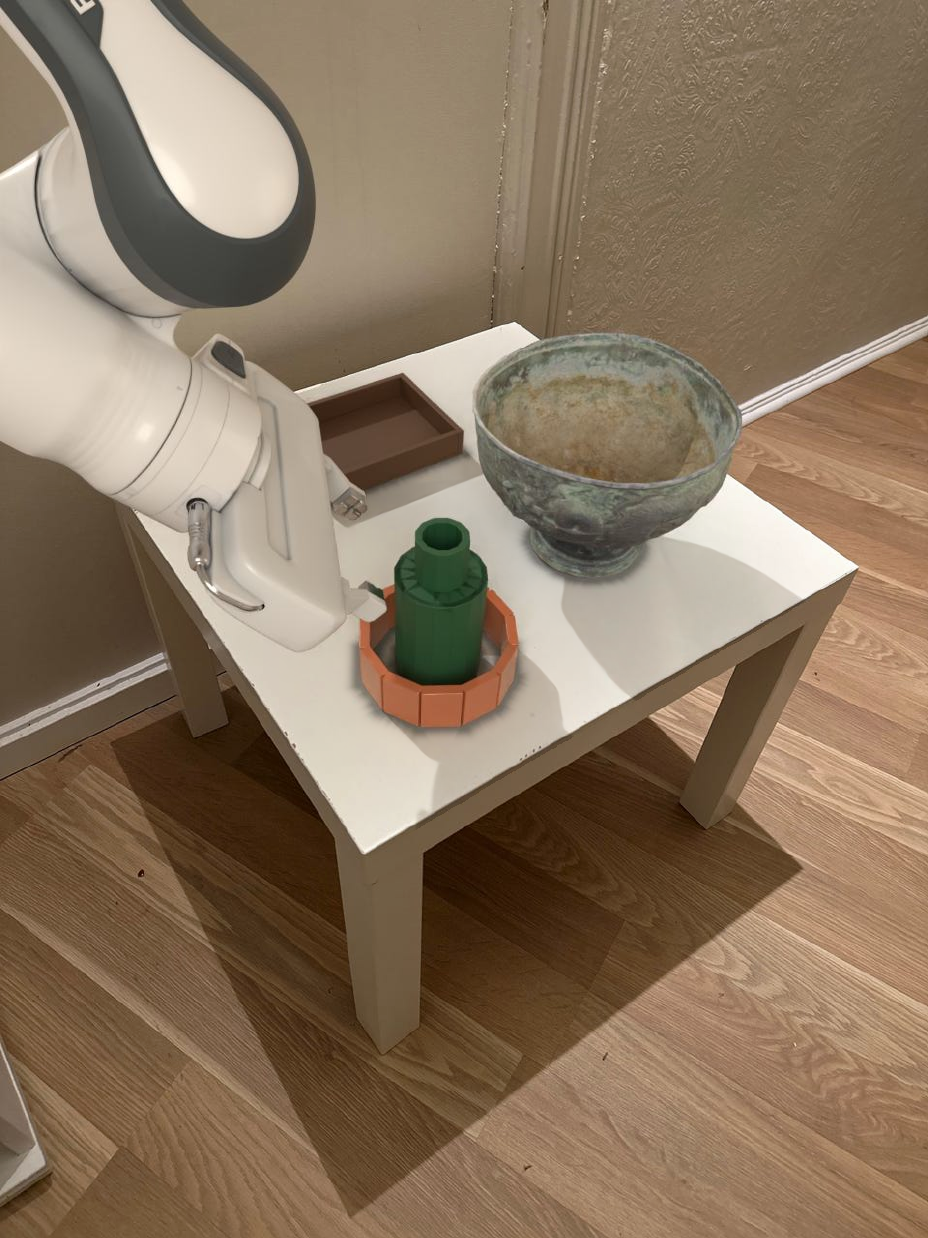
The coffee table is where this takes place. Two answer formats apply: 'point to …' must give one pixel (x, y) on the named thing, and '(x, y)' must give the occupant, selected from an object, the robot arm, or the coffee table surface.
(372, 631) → the orange ring
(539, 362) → the bowl
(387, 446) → the tray
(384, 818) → the coffee table surface
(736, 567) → the coffee table surface
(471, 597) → the bottle
